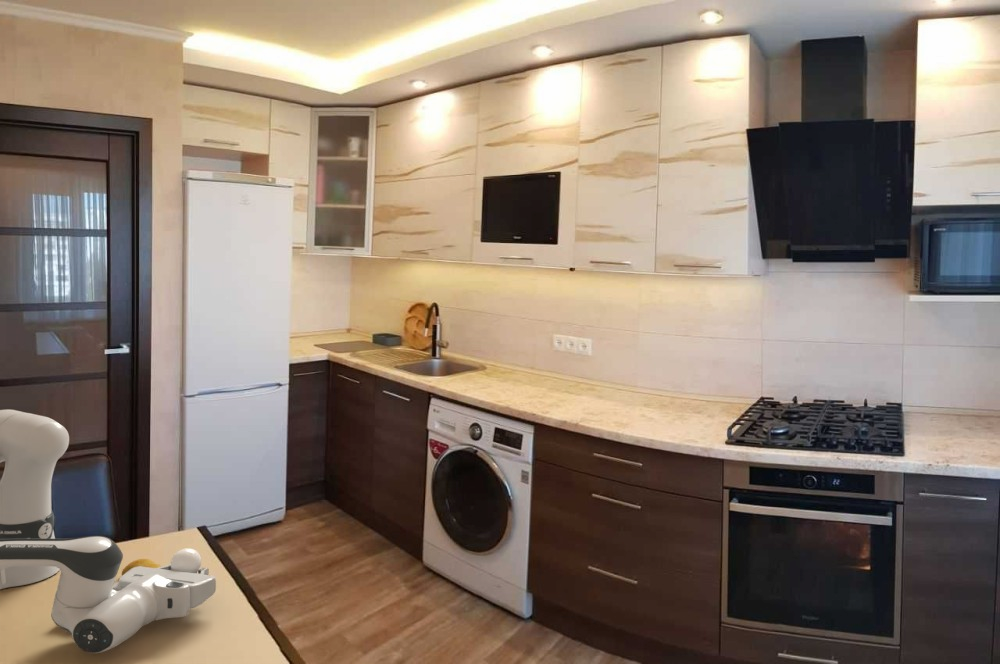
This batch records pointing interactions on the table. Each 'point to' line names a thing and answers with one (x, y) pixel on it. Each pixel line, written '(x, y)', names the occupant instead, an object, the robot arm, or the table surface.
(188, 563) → the lightbulb
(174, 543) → the table surface
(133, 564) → the bread roll
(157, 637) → the table surface
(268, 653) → the table surface
